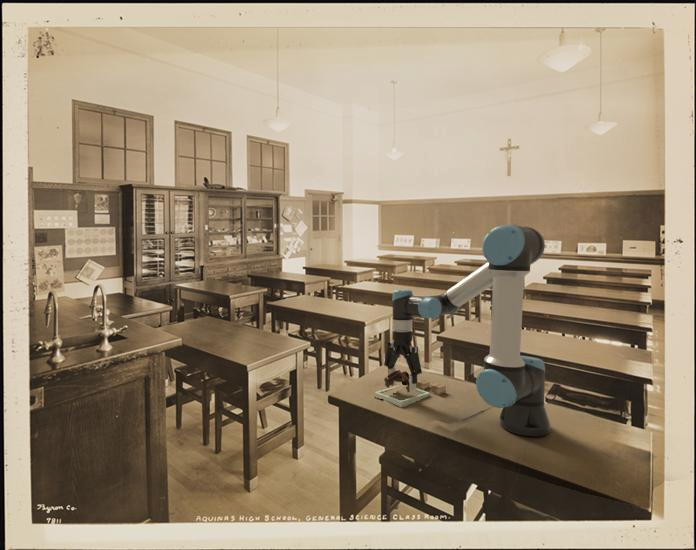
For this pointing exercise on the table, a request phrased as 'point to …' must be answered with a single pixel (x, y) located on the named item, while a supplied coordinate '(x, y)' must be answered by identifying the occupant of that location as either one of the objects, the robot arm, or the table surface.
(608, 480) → the table surface
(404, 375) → the broken pot
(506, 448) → the table surface
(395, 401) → the tray
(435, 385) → the oak cube
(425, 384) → the oak cube
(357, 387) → the table surface
